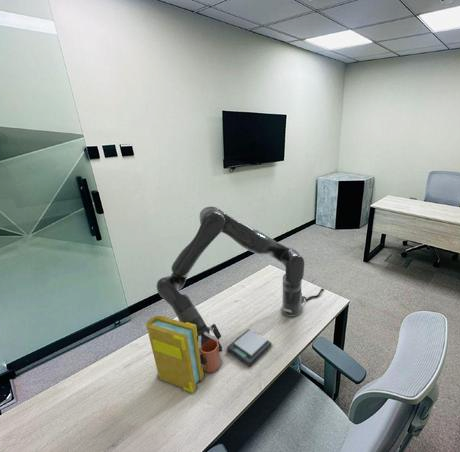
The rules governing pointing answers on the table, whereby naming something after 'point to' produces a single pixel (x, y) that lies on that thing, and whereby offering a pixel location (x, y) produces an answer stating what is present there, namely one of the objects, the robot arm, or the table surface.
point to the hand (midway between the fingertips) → (213, 357)
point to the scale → (249, 347)
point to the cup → (211, 355)
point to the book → (175, 351)
